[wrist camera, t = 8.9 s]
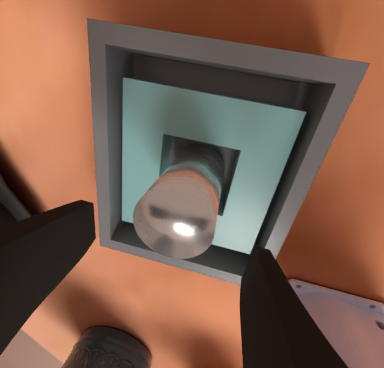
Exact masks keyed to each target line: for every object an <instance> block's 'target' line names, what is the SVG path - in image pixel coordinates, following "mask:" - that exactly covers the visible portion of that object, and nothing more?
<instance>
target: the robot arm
mask: <svg viewBox="0 0 384 368" xmlns="http://www.w3.org/2000/svg"><path fill="white" fill-rule="evenodd" d="M95 238H96V236H95V221H94V205H93V203H91V202H87V201H83V200H79V201H75V202H72V203H69V204H66V205H63V206H60V207H57V208H54V209H52V210H49V211H46V212H43V213H40V214H37V215H34V216H32V217H29V218H26V219H23V220H20V221H17V222H14V223H11V224H7V225H4V226H1V227H0V355H1V354H2V352H3V351H4V350H5V348H6V347H7V346H8V344H9V343H10V341H11V340H12V339H13V338H14V336H15V335H16V334H17V332H18V331H19V330H20V328H21V327H22V326H23V325H24V323H25V322H26V321H27V319H28V318H29V317H30V316H31V314H32V313H33V312H34V311H35V310H36V308H37V307H38V306H39V305H40V304H41V303H42V302H43V301H44V299H45V298H46V297H47V296H48V295H49V294H50V293H51V292H52V291H53V290H54V288H55V287H56V286H57V285H58V284H59V283H60V282H61V281H62V280H63V278H64V277H65V276H66V275H67V274H68V273H69V272H70V271H71V270H72V269H73V267H74V266H75V265H76V264H77V263H78V262H79V261H80V259H81V258H82V257H83V256H84V254H85V253H86V252H87V250H88V249H89V247H90V246H91V244H92V243H93V241H94V240H95ZM240 320H241V338H242V355H243V368H384V303H381V302H377V301H373V300H370V299H366V298H362V297H359V296H355V295H351V294H347V293H344V292H340V291H336V290H333V289H329V288H325V287H322V286H318V285H314V284H311V283H307V282H303V281H300V280H296V279H289V280H287V278H286V276H285V275H284V273H283V271H282V270H281V268H280V266H279V264H278V263H277V261H276V259H275V258H274V256H273V254H272V253H271V251H270V250H269V249H265V248H261V247H257V246H254V249H253V251H252V254H251V256H250V259H249V261H248V264H247V266H246V269H245V271H244V274H243V276H242V278H241V289H240Z"/></svg>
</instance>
